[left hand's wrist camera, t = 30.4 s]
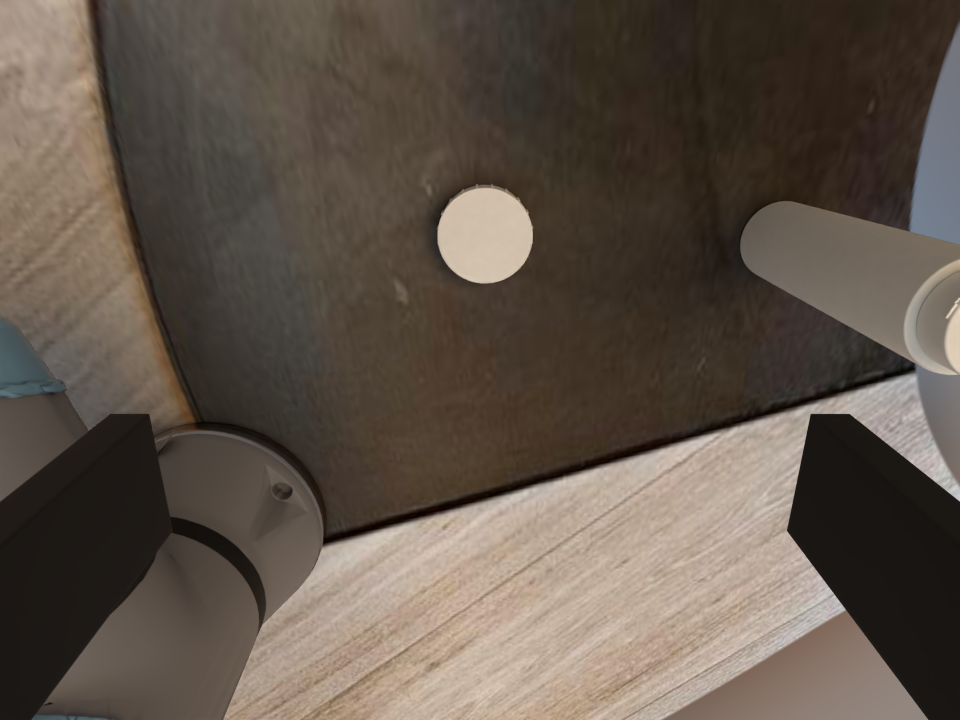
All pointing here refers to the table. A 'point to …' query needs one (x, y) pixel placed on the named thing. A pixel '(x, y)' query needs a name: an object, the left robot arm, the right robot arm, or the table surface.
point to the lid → (485, 234)
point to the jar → (864, 277)
